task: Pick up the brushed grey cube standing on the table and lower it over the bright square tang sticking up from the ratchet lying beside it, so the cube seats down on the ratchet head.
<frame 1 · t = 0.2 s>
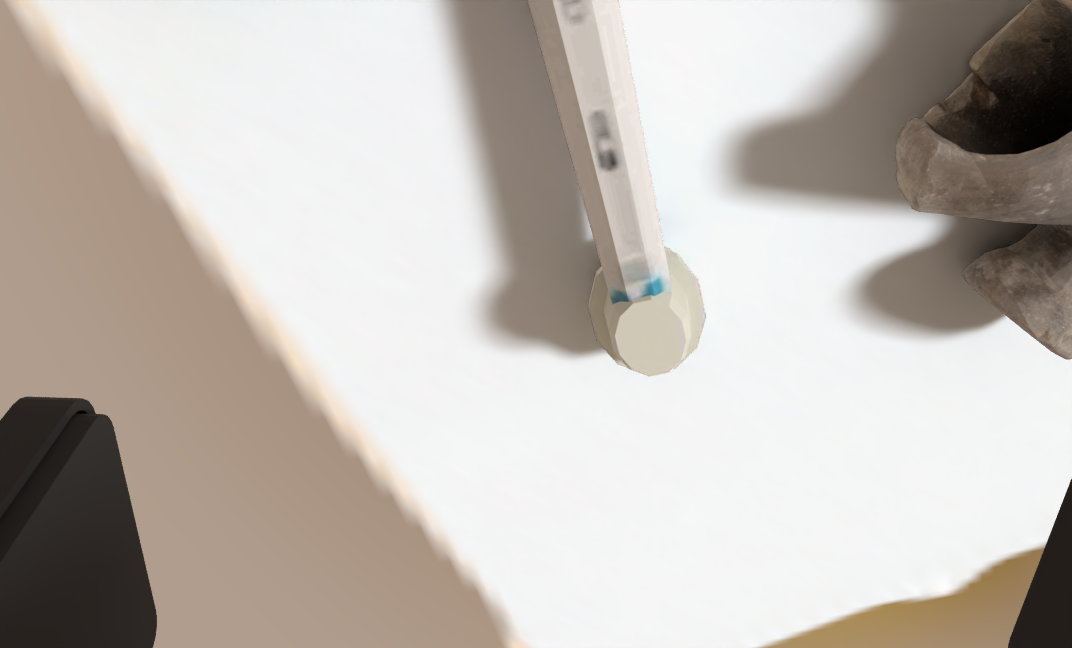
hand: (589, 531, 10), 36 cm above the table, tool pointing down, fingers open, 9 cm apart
grey clay vessel: (1020, 125, 45), on the table
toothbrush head: (600, 99, 45), on the table
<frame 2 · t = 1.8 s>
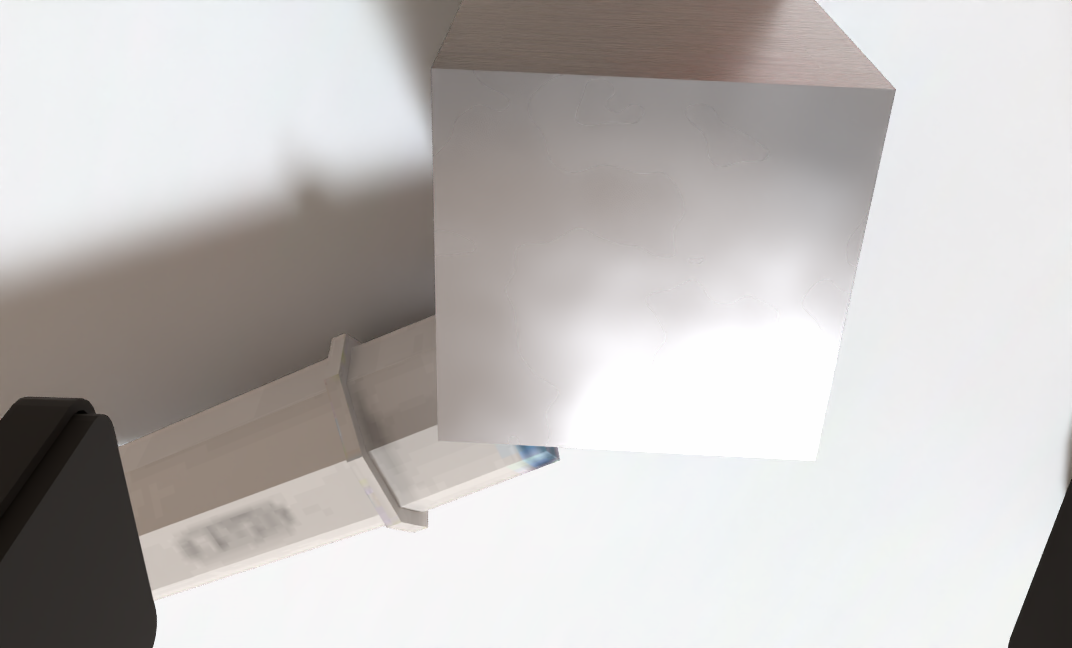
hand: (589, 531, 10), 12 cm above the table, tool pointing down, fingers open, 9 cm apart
brushed grey cube: (624, 124, 21), on the table
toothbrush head: (90, 471, 26), on the table
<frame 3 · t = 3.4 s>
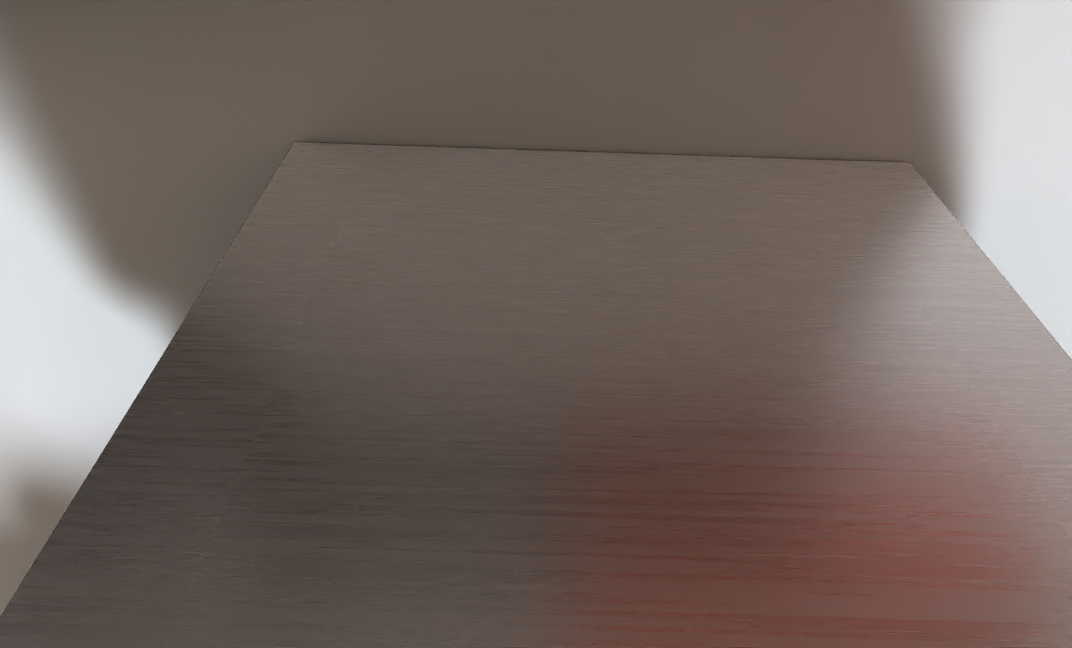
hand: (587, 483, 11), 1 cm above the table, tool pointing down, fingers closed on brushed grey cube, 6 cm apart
brushed grey cube: (585, 404, 11), on the table, touching gripper
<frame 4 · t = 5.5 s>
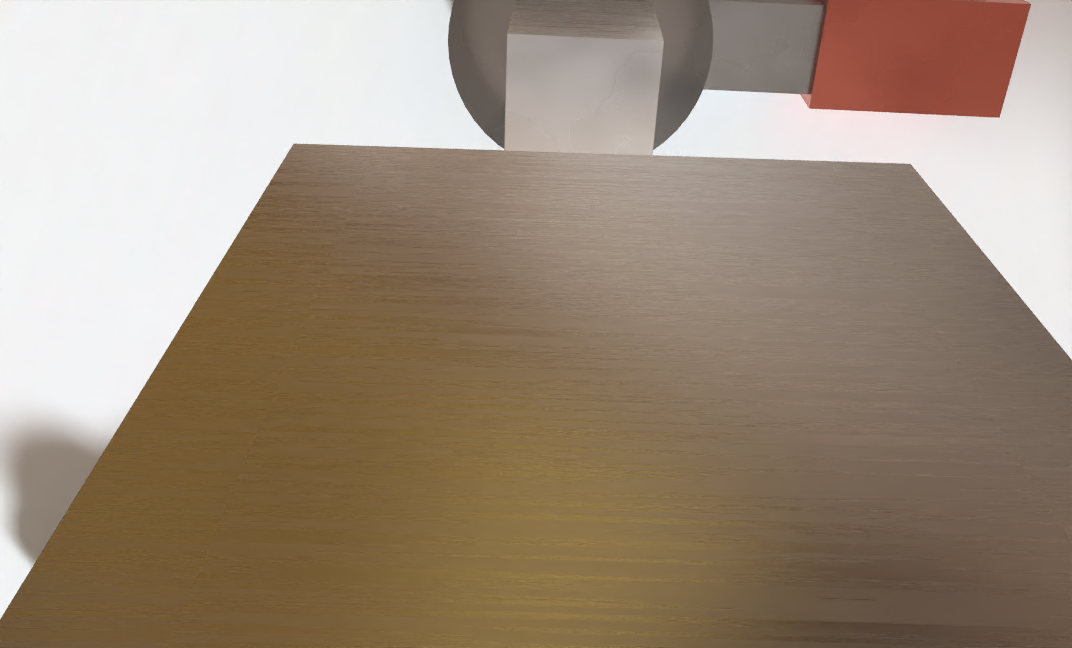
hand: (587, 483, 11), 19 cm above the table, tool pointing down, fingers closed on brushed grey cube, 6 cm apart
brushed grey cube: (585, 405, 11), point 18 cm above the table, touching gripper
ratchet: (579, 18, 27), on the table
when the fingers open (6 cm above the table, at t = 8.0 s): brushed grey cube drops 2 cm, resting on ratchet.
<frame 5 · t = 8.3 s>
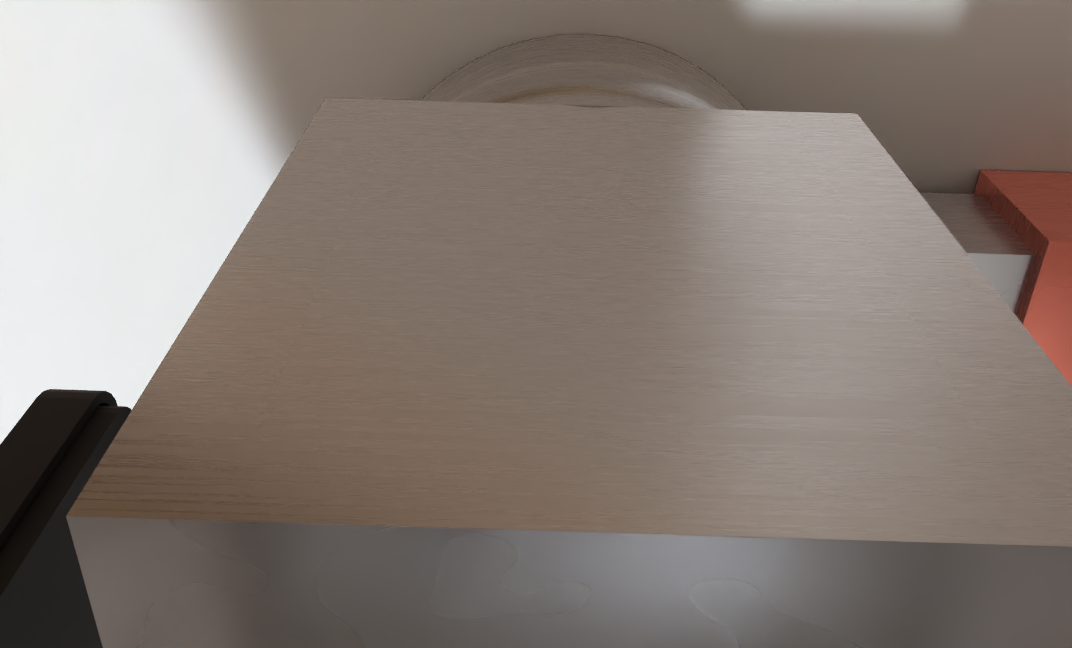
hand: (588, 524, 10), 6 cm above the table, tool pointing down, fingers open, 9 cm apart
brushed grey cube: (578, 332, 13), point 3 cm above the table, touching ratchet
ratchet: (576, 242, 16), on the table
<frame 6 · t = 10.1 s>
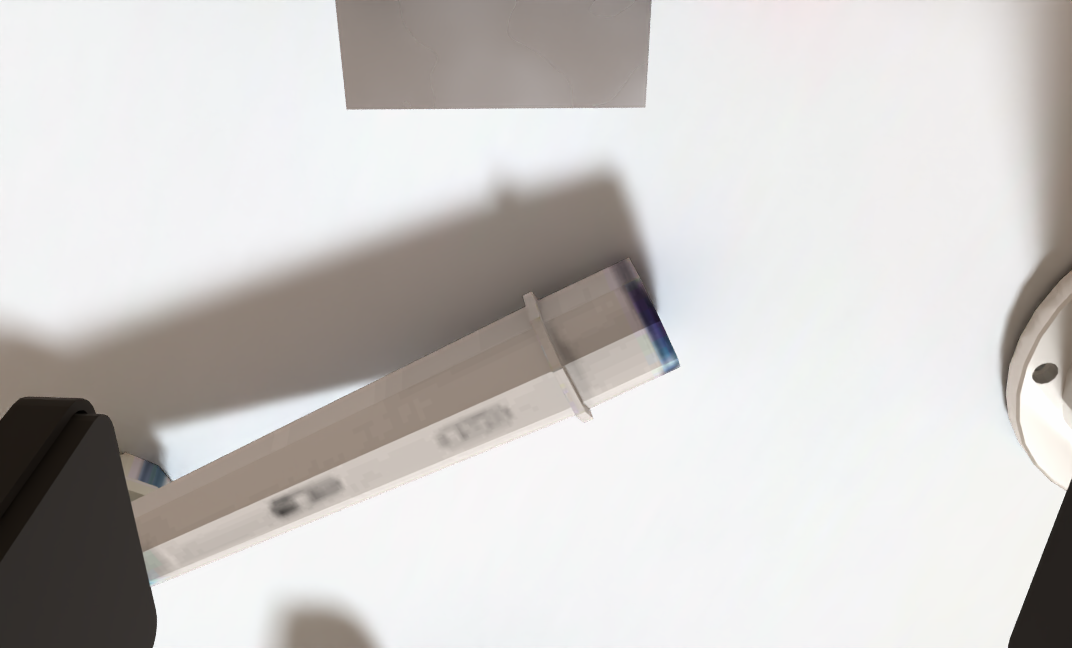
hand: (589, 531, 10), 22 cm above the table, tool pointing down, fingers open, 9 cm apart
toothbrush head: (332, 405, 37), on the table
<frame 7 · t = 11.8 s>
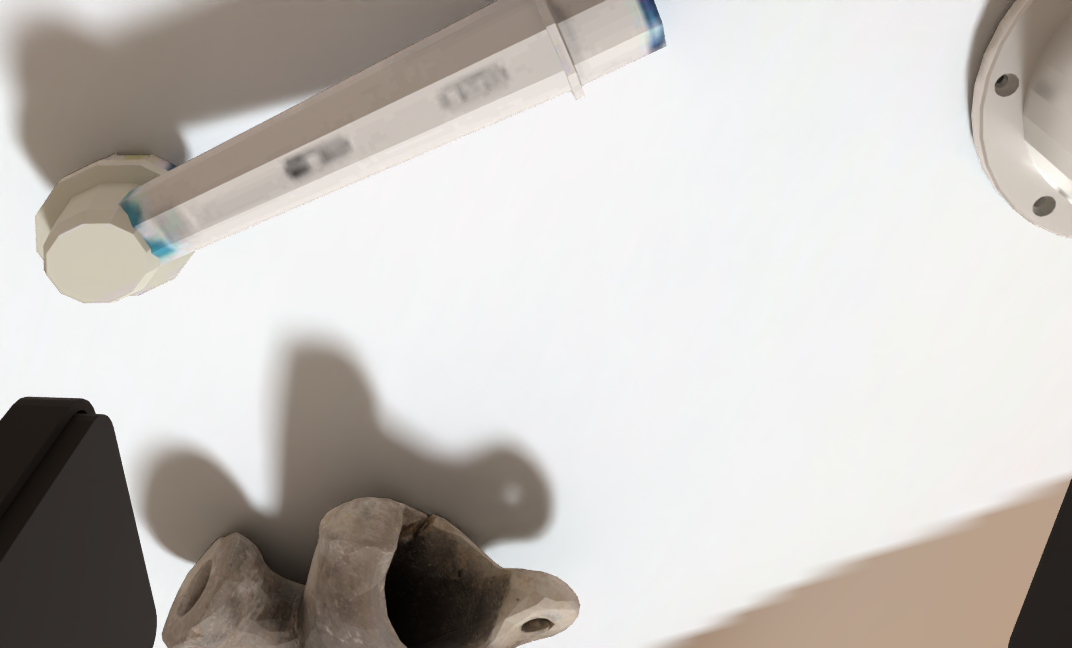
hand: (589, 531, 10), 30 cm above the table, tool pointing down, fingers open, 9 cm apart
grey clay vessel: (375, 547, 51), on the table
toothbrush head: (344, 111, 40), on the table
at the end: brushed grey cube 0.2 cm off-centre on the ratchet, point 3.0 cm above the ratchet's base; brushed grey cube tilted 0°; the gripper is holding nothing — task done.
